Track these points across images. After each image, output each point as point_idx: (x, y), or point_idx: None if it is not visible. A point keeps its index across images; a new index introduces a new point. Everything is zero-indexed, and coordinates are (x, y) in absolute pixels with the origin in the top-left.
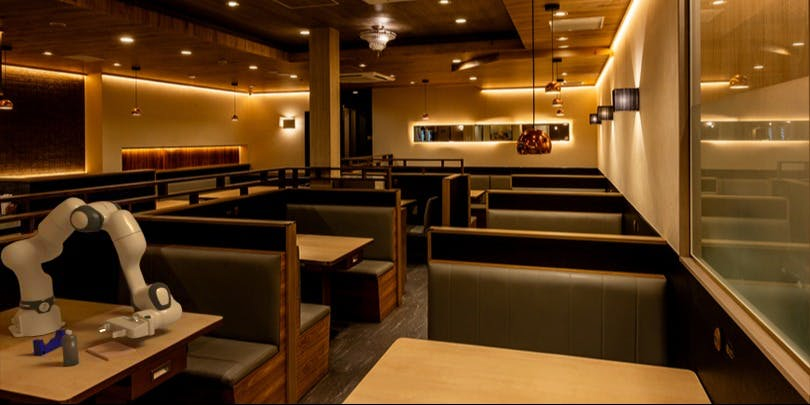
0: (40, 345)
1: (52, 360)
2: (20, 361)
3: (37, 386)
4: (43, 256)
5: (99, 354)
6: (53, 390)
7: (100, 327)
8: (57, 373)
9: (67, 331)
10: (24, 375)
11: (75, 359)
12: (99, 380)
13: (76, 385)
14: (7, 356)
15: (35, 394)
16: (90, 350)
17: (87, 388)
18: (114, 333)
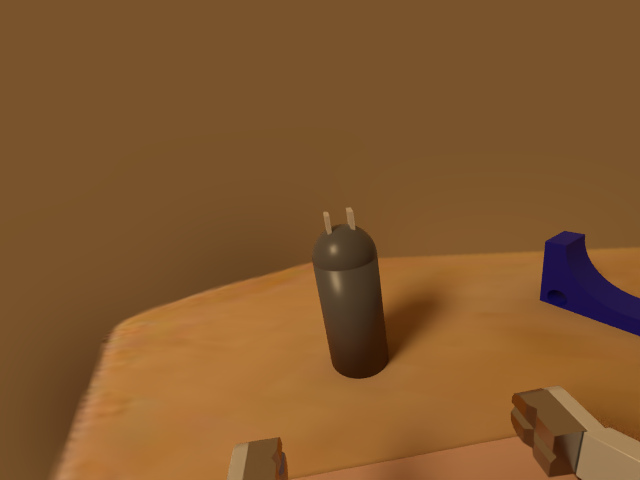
0: (545, 260)
1: (457, 319)
2: (503, 268)
3: (260, 290)
4: None
5: (363, 467)
6: (197, 308)
7: (567, 400)
8: (304, 320)
9: (348, 216)
10: None
11: (329, 345)
12: (99, 395)
13: (158, 343)
14: None
15: (219, 287)
16: (488, 443)
17: (102, 359)
18: (233, 461)
